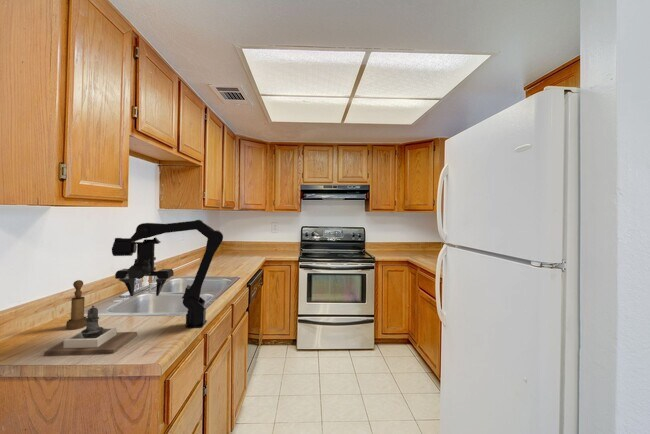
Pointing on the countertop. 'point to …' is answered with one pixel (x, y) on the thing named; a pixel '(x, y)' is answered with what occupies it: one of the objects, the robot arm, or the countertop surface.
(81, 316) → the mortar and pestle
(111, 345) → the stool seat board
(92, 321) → the salt shaker
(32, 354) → the countertop surface
